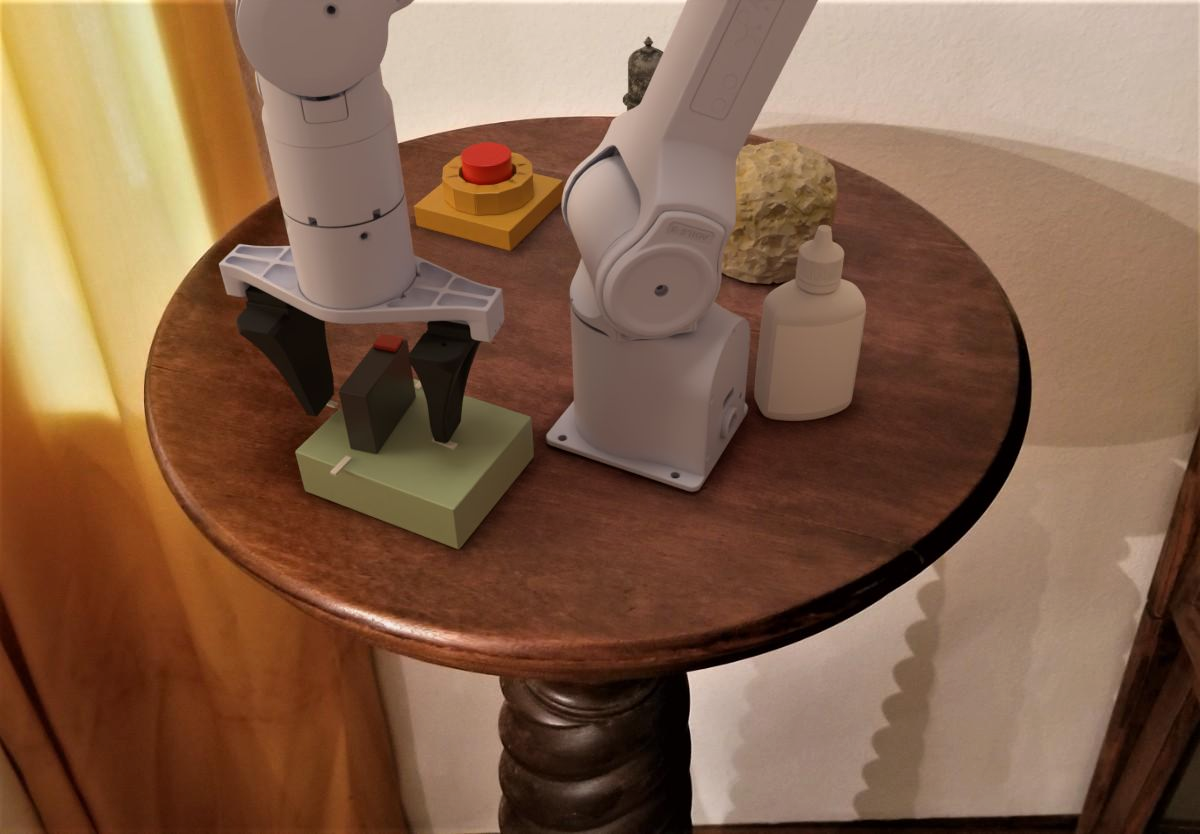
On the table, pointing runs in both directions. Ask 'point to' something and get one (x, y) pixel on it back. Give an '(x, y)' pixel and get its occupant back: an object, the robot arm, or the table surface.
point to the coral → (777, 209)
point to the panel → (422, 468)
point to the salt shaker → (641, 72)
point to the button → (487, 164)
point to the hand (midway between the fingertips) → (383, 417)
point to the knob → (377, 394)
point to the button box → (490, 205)
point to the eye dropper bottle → (810, 337)
